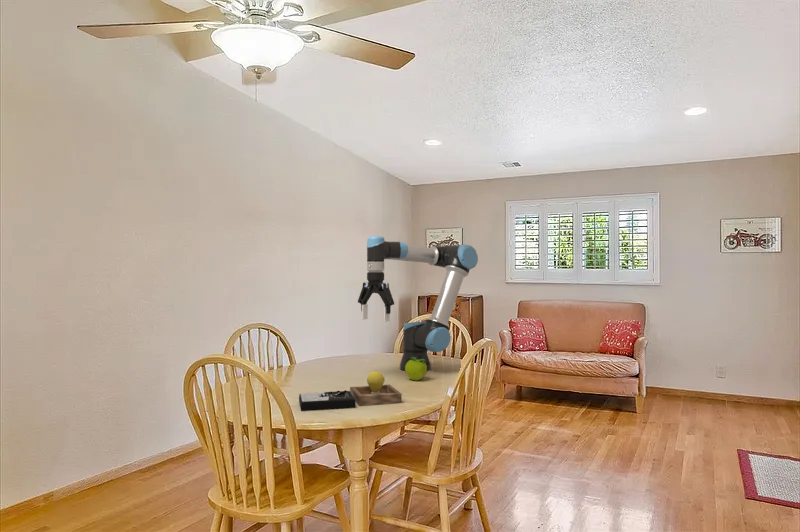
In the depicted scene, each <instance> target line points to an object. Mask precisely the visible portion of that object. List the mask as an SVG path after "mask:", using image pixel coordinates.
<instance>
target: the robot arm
mask: <svg viewBox="0 0 800 532" xmlns="http://www.w3.org/2000/svg"><path fill="white" fill-rule="evenodd" d="M385 260H393V261H404V262H415V263H425V264H426V263H427V264H428V265H429V266H433V267H440V268H445V270H446V273H445V275H444V279H443V282H442V284H441V287H440V290H439V293H438V296H437V299H436V302H435V304H434V308H433V309H432V312H431V316H430V317H428V318H426V320H425V321H414V322H405V323H404V324H403V328H402V329H403V352H402V356H401V360H400V362H399V369H400V370H402V371H404V372H406V371H405V366H406V364H407V362H408V361H409V360H411V359H412V358H409V357H415V358H416V359H417V360H420V359H424V360H423V361H424V362H425V363H426V366H427V371H430V370H431V369H432V367H431V366H432V365H431V360H430V357H429V356H428V351H430V353H431V352H432V353H441V352H443V351H445V350H447V348H448V347H449V345H450V343H451V339H452V337H451V333H450V331H449V330H450V325H449V321H450V317H451V315H452V312H453V309H454V306H455V304H456V300H457V298H458V295H459V292H460V289H461V287H462V283H463V280H464V278H465V277H468V276H469V274H470V270H472V269H474V268H476V266H477V264H478V261H479V255H478V253H477V250H476V249H475V248H474V247H473V245H470V244H453V245H452V244H451V245H442V246H434V245H432V246H430V247H425V246H423V247H422V246H414V245H408V244H407V243H406V242H404V241H386V240H385V237H384V236H376V235H373V236H369V237H367V241H366V262H367V263H366V270H367V272H366V280H367V281H368V282H366V281H363V283H362V287H361V291H360V293H359V297H358V299H357V303H358V304H360V309H361V320H368V319H369V318H368V316H369V315H368V311H369V310H368V308H369V307H368V305H369V304H367V303H368V301H370V300H369V299H371V297H372V294H378V295H379V297H380V299H381V300H382V302H383V304H384V306H383V322H385V323H386V322H387V323H388V322H390V321H391V319H390V317H391V316H390V315H391V311H392V310H391V308H392V307H391V306H394V305H395V301H394V299H393V296H392V293H391V290H390V284H389V282H384V280H385V273H384V271H385ZM425 360H426V361H425Z"/></svg>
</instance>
